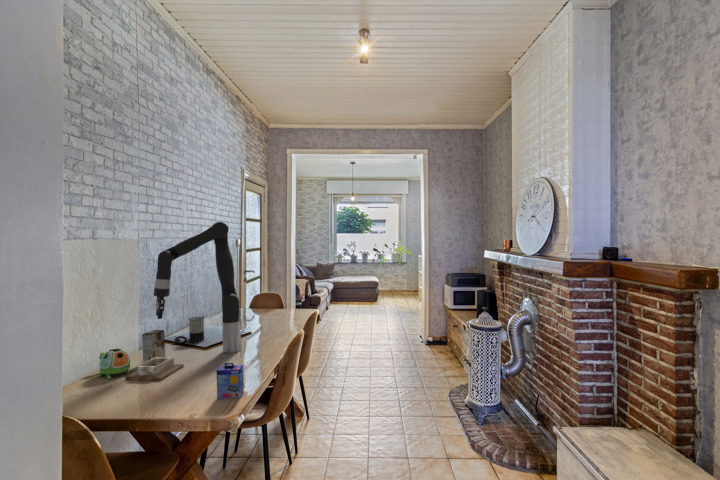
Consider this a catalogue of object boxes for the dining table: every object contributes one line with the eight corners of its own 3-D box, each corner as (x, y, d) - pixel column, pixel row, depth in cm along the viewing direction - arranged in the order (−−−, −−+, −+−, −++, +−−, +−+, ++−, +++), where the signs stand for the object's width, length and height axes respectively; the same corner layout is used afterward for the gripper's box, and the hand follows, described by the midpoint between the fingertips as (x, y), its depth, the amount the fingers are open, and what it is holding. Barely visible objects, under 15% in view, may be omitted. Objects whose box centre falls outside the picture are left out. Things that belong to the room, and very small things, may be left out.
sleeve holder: (183, 366, 191) (183, 356, 191) (161, 380, 173) (160, 369, 173) (150, 366, 193) (150, 355, 193) (125, 379, 175) (125, 368, 175)
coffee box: (155, 358, 205) (154, 329, 205) (165, 358, 204) (164, 329, 204) (142, 364, 196) (141, 333, 196) (153, 364, 195) (152, 334, 195)
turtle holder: (115, 366, 193) (114, 343, 193) (136, 372, 185) (135, 348, 184) (88, 374, 182) (88, 350, 182) (109, 381, 174) (108, 355, 174)
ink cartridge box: (216, 399, 152) (215, 364, 152) (220, 393, 158) (219, 360, 157) (241, 398, 153) (240, 363, 153) (244, 392, 159) (243, 358, 158)
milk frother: (207, 340, 239) (207, 317, 238) (185, 347, 225) (184, 322, 225) (194, 337, 246) (194, 315, 246) (171, 343, 233) (171, 320, 233)
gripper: (171, 289, 198) (168, 319, 197) (168, 285, 210) (165, 314, 209) (155, 288, 194) (152, 320, 193) (153, 285, 206) (149, 314, 205)
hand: (158, 317), depth 201 cm, fingers open, 8 cm apart
